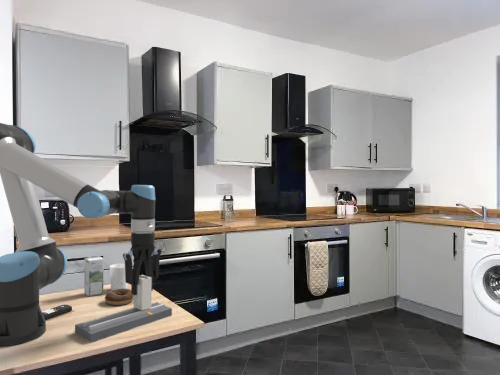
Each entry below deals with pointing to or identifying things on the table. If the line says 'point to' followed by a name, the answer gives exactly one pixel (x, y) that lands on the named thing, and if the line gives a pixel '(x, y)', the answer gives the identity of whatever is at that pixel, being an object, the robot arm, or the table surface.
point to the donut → (119, 297)
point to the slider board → (121, 322)
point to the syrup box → (94, 275)
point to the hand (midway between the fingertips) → (142, 302)
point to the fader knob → (144, 293)
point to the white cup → (118, 277)
